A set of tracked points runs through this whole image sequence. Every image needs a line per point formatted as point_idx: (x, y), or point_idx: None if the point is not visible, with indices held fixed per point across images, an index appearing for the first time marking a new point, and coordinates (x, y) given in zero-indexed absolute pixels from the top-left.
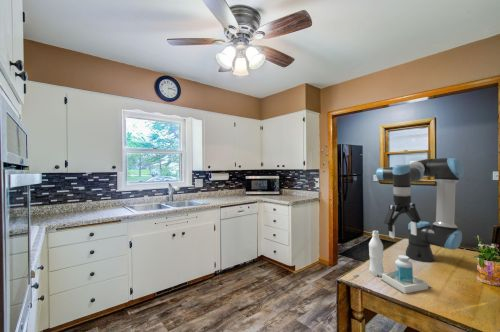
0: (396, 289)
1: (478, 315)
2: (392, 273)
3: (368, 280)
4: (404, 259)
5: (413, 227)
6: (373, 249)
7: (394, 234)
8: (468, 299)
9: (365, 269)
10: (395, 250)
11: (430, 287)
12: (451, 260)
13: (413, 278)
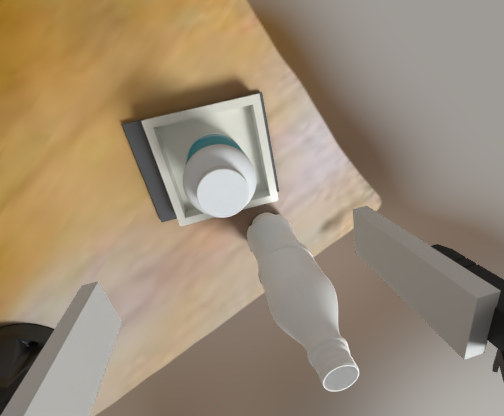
0: (266, 123)
1: None
2: None
3: (311, 195)
4: (232, 168)
5: (73, 375)
6: (323, 273)
7: (380, 226)
8: (16, 36)
9: None
10: None
11: (129, 128)
12: None
13: (171, 173)
